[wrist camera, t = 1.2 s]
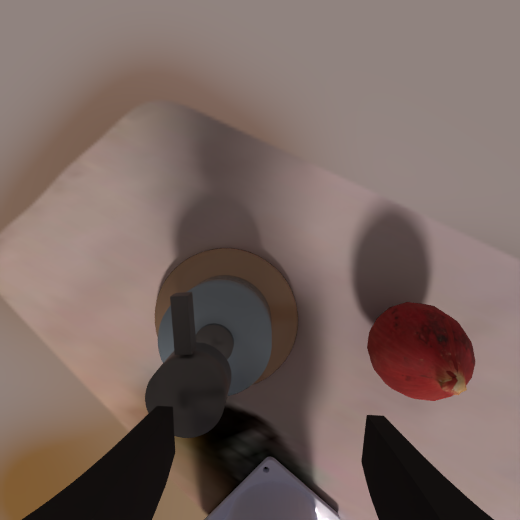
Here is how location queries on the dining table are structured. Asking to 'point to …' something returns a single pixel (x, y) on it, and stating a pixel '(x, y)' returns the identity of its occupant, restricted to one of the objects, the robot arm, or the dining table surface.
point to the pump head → (190, 376)
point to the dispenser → (233, 312)
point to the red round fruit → (421, 352)
